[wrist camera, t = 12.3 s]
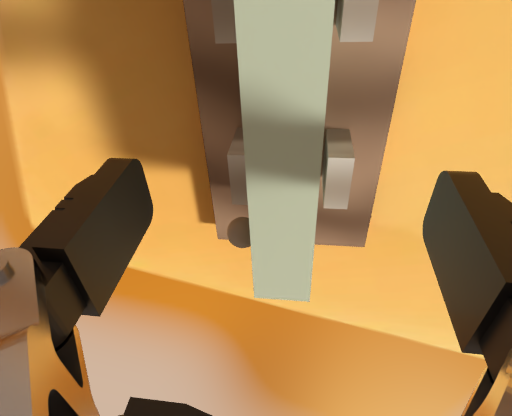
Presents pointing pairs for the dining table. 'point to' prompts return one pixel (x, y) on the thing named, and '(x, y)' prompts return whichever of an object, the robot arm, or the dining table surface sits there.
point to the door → (282, 137)
